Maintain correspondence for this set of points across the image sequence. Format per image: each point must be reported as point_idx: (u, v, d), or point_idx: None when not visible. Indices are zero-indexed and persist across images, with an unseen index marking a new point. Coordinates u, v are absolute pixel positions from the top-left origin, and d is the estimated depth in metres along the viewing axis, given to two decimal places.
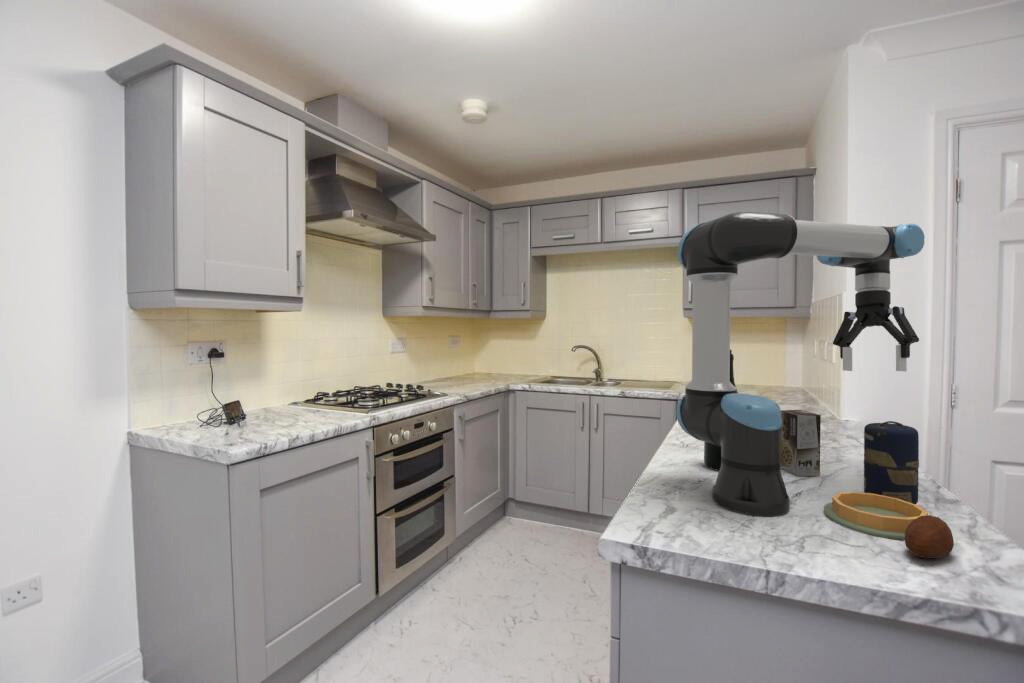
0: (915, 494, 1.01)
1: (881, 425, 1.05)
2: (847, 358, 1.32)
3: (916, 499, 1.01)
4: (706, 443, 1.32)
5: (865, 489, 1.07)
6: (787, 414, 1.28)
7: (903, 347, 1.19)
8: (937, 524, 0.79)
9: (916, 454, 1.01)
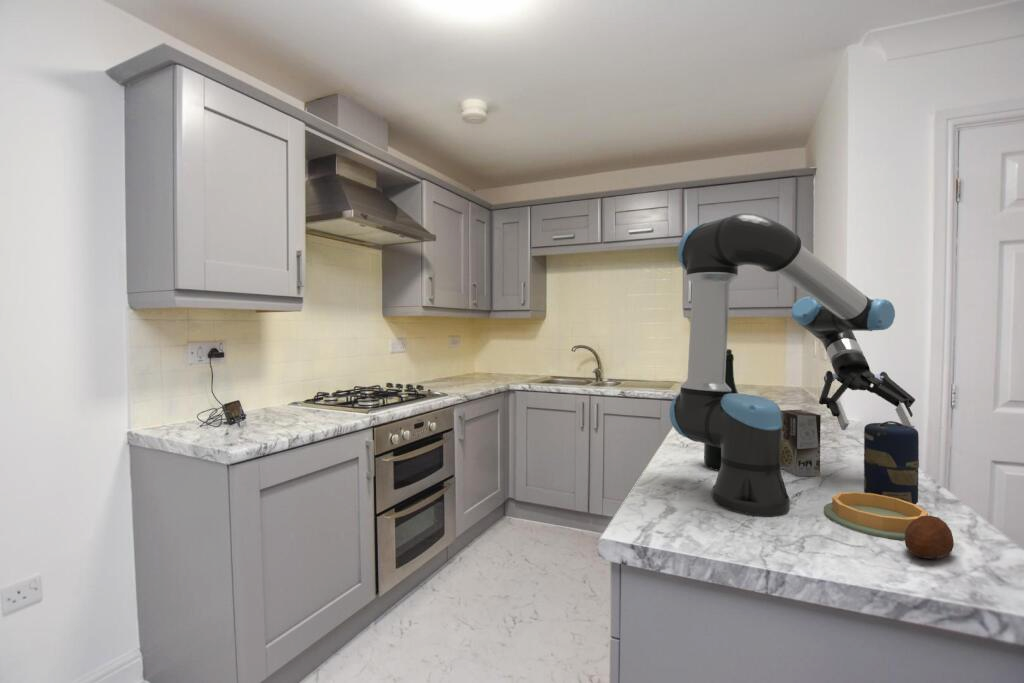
0: (915, 494, 1.01)
1: (881, 425, 1.05)
2: None
3: (916, 499, 1.01)
4: None
5: (865, 489, 1.07)
6: (787, 414, 1.28)
7: (906, 406, 1.14)
8: (937, 524, 0.79)
9: (916, 454, 1.01)
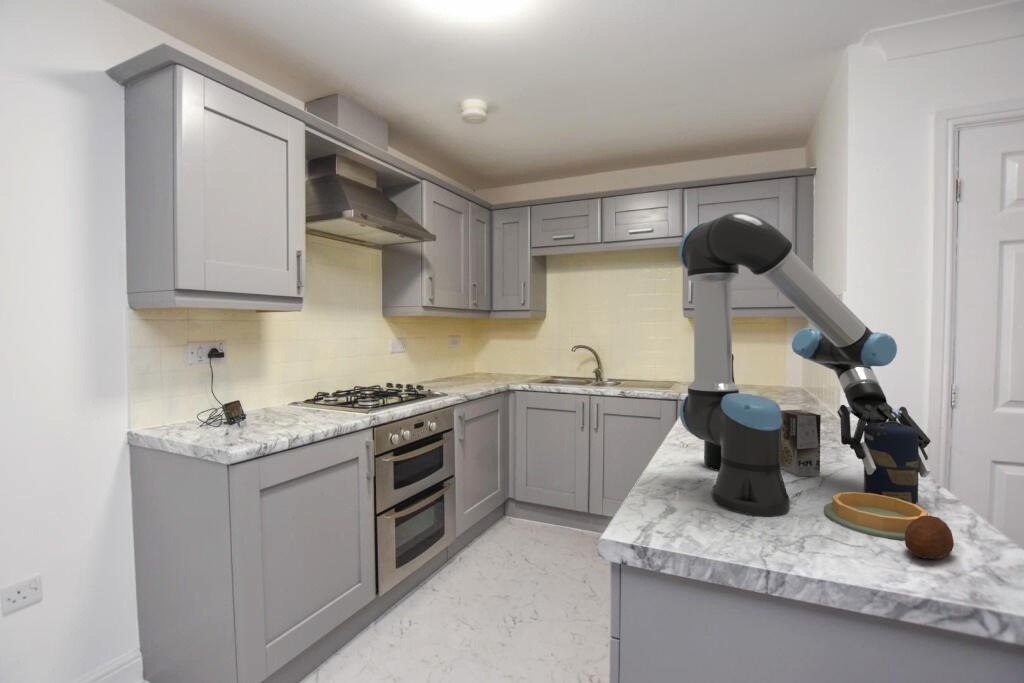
0: (915, 494, 1.01)
1: (881, 425, 1.05)
2: None
3: (916, 499, 1.01)
4: (706, 443, 1.32)
5: (865, 489, 1.07)
6: (787, 414, 1.28)
7: (920, 448, 1.04)
8: (937, 524, 0.79)
9: (916, 454, 1.01)
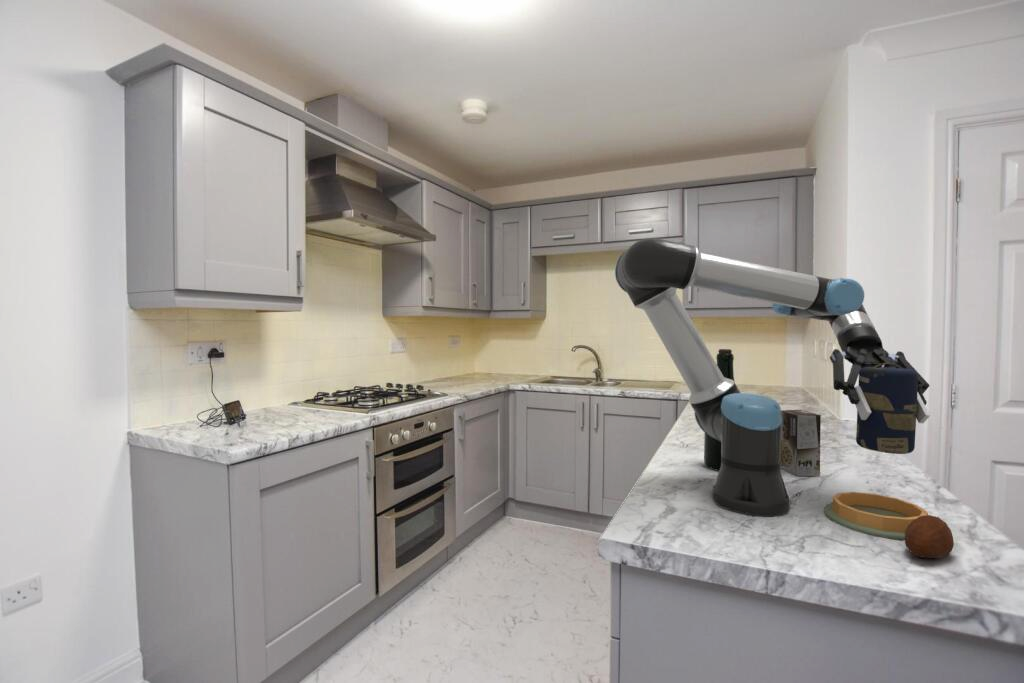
0: (912, 440, 0.93)
1: (878, 367, 0.96)
2: None
3: (913, 446, 0.93)
4: (706, 443, 1.32)
5: (858, 437, 0.98)
6: (787, 414, 1.28)
7: (918, 393, 0.96)
8: (937, 524, 0.79)
9: (915, 397, 0.93)
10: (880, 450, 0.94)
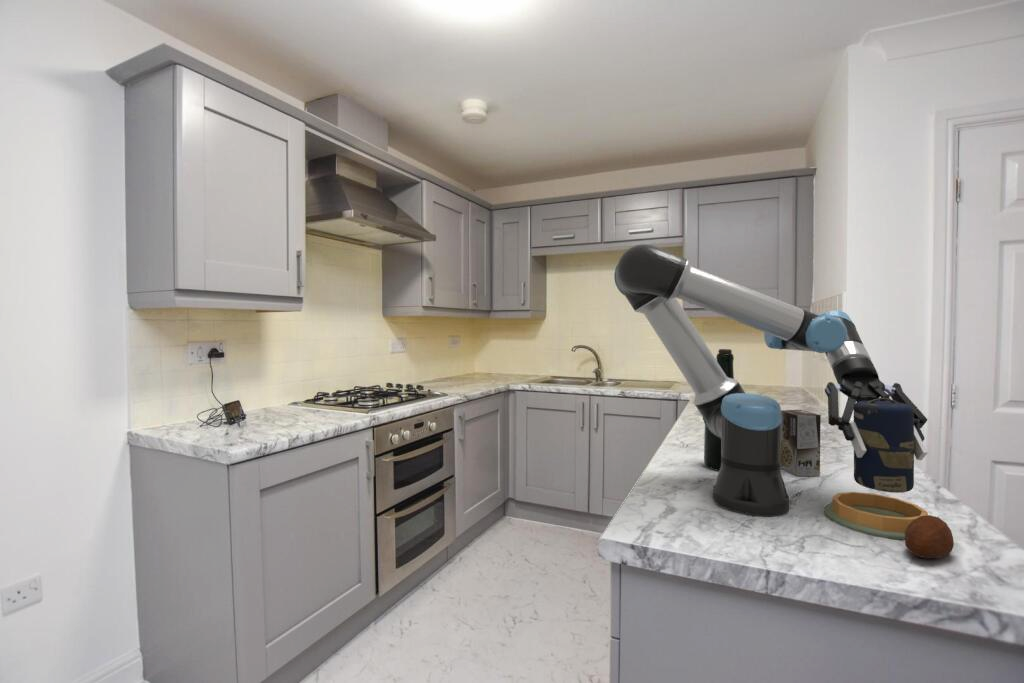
0: (910, 478, 0.90)
1: (872, 402, 0.94)
2: None
3: (911, 484, 0.90)
4: (706, 443, 1.32)
5: (855, 474, 0.96)
6: (787, 414, 1.28)
7: (916, 428, 0.93)
8: (937, 524, 0.79)
9: (911, 434, 0.90)
10: (878, 489, 0.91)
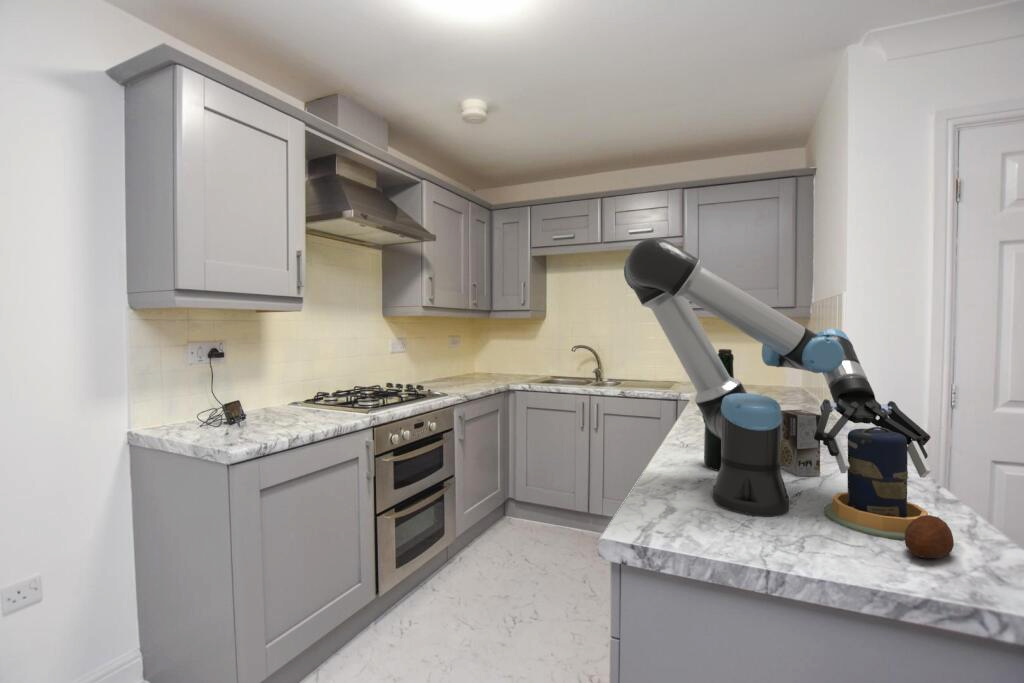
0: (903, 508, 0.90)
1: (866, 431, 0.94)
2: None
3: (904, 514, 0.91)
4: (706, 443, 1.32)
5: (848, 502, 0.96)
6: (787, 414, 1.28)
7: (919, 445, 0.94)
8: (937, 524, 0.79)
9: (905, 464, 0.90)
10: None
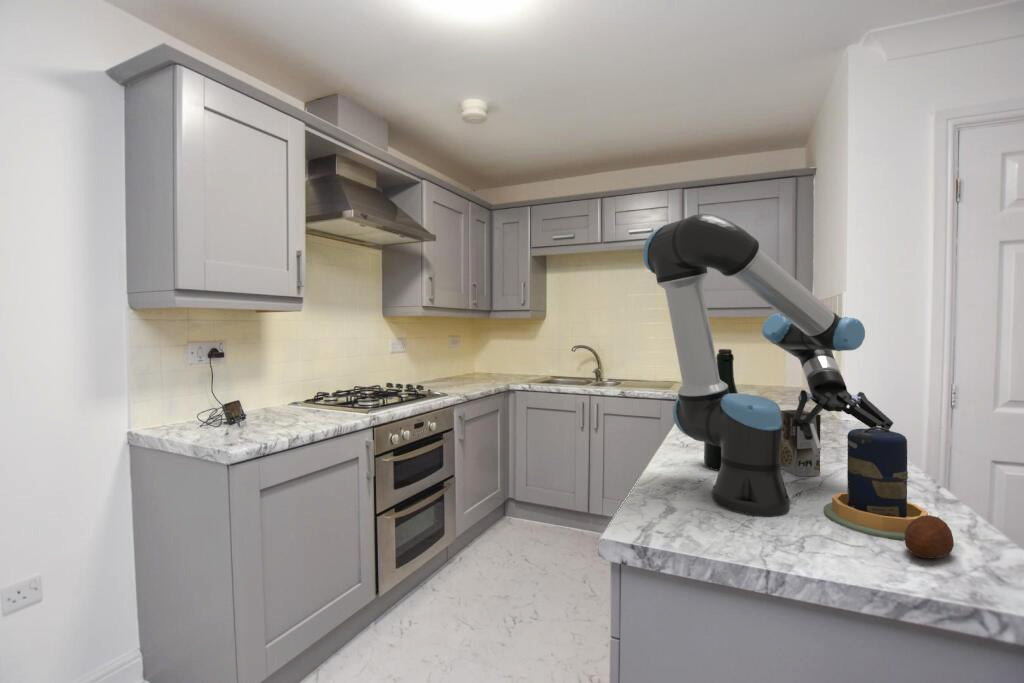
0: (903, 508, 0.90)
1: (866, 431, 0.94)
2: None
3: (904, 514, 0.91)
4: (706, 443, 1.32)
5: (848, 502, 0.96)
6: (787, 414, 1.28)
7: None
8: (937, 524, 0.79)
9: (904, 464, 0.90)
10: None
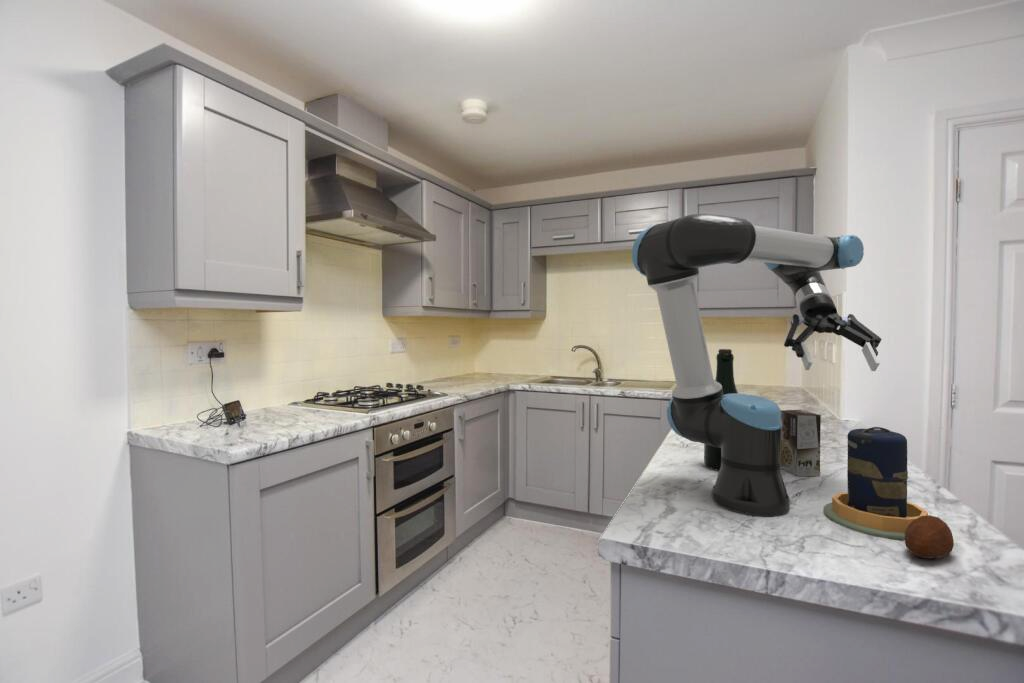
0: (903, 508, 0.90)
1: (866, 431, 0.94)
2: None
3: (904, 514, 0.91)
4: None
5: (848, 502, 0.96)
6: (787, 414, 1.28)
7: (872, 346, 1.11)
8: (937, 524, 0.79)
9: (904, 464, 0.90)
10: None
